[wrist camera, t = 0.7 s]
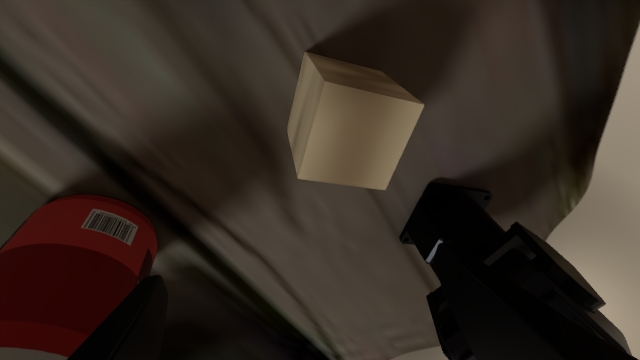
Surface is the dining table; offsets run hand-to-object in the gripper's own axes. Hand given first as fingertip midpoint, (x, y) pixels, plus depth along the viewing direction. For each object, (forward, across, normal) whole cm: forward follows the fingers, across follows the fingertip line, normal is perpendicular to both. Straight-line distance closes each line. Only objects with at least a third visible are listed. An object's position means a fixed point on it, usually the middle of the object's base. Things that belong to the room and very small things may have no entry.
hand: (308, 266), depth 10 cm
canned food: (+12, +14, +8) cm, 20 cm away
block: (+12, -3, -1) cm, 13 cm away
